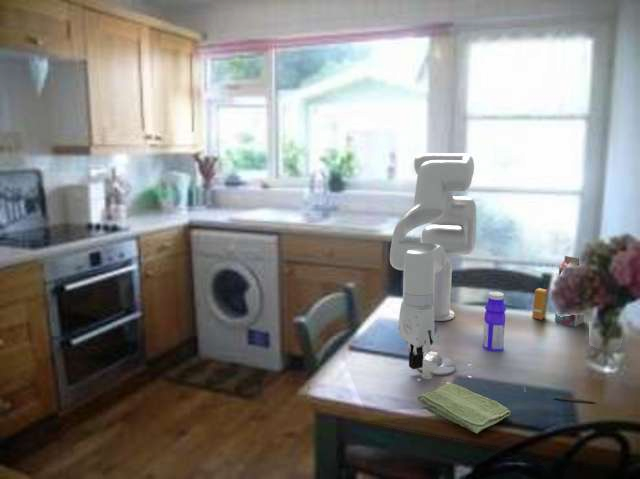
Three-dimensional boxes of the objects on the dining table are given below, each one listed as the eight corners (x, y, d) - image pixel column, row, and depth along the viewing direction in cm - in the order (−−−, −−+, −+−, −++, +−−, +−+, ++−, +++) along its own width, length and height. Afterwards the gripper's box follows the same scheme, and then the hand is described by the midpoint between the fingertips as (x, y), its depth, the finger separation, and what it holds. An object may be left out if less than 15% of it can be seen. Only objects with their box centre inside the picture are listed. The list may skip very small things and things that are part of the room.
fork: (597, 407, 124) (598, 399, 123) (523, 399, 128) (524, 391, 127) (594, 402, 126) (595, 394, 126) (522, 393, 130) (523, 386, 130)
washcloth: (478, 439, 111) (479, 424, 111) (413, 406, 125) (414, 393, 124) (513, 418, 119) (514, 405, 119) (449, 389, 133) (449, 377, 132)
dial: (423, 356, 148) (423, 339, 147) (459, 363, 143) (460, 346, 142) (407, 374, 137) (407, 356, 136) (445, 383, 132) (446, 364, 131)
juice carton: (574, 326, 174) (581, 260, 170) (554, 321, 179) (560, 257, 175) (583, 322, 178) (590, 257, 174) (563, 317, 183) (569, 254, 179)
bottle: (504, 357, 151) (508, 297, 147) (483, 355, 152) (487, 296, 148) (501, 347, 158) (505, 290, 154) (481, 345, 159) (484, 289, 155)
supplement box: (542, 320, 180) (544, 291, 178) (531, 317, 182) (534, 289, 180) (545, 317, 183) (548, 289, 181) (535, 315, 185) (537, 287, 183)
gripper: (389, 292, 139) (388, 358, 143) (422, 309, 126) (419, 382, 129) (414, 288, 142) (412, 353, 146) (448, 305, 128) (445, 376, 132)
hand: (415, 367), depth 137 cm, fingers closed
